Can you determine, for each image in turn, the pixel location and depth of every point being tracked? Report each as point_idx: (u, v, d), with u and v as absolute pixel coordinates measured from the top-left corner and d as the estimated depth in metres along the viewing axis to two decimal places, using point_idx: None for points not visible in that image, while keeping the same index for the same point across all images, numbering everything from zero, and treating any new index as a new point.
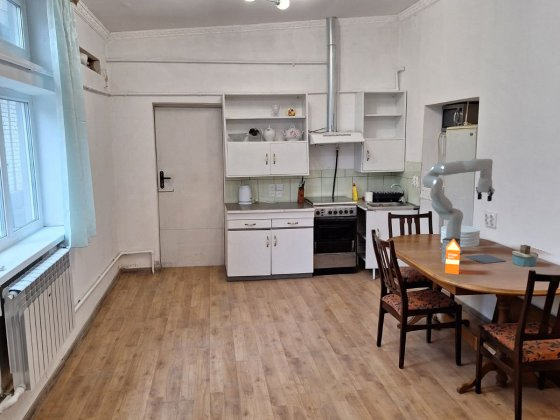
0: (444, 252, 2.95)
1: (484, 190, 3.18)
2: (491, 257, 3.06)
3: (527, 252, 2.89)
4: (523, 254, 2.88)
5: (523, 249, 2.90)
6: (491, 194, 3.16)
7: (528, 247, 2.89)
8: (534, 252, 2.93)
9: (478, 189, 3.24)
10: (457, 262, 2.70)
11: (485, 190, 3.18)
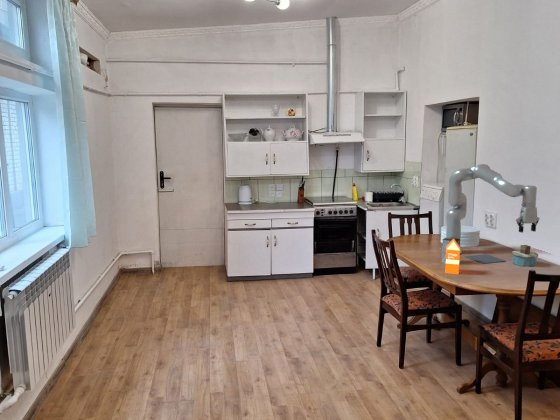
0: (444, 252, 2.95)
1: (534, 220, 2.86)
2: (491, 257, 3.06)
3: (527, 252, 2.89)
4: (523, 254, 2.88)
5: (523, 249, 2.90)
6: (536, 223, 2.89)
7: (528, 247, 2.89)
8: (534, 252, 2.93)
9: (527, 221, 2.84)
10: (457, 262, 2.70)
11: (535, 220, 2.86)
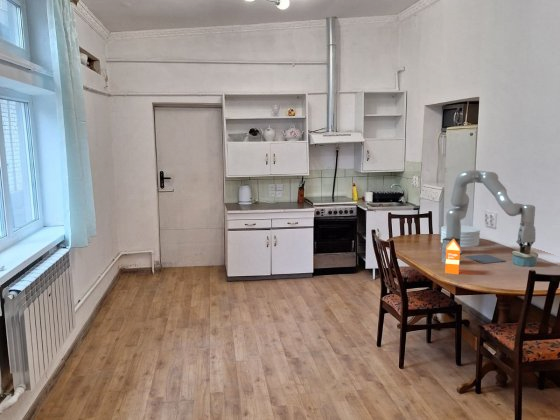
0: (444, 252, 2.95)
1: (532, 239, 2.88)
2: (491, 257, 3.06)
3: (527, 252, 2.89)
4: (523, 254, 2.88)
5: None
6: None
7: (528, 247, 2.89)
8: (534, 252, 2.93)
9: (525, 240, 2.86)
10: (457, 262, 2.70)
11: (533, 239, 2.88)
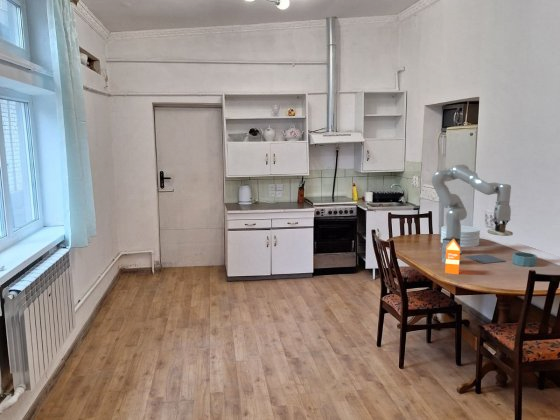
0: (444, 252, 2.95)
1: (507, 218, 2.94)
2: (491, 257, 3.06)
3: (502, 230, 2.95)
4: (498, 232, 2.94)
5: None
6: (506, 223, 2.97)
7: (503, 225, 2.94)
8: (509, 231, 2.99)
9: (500, 218, 2.92)
10: (457, 262, 2.70)
11: (508, 218, 2.94)
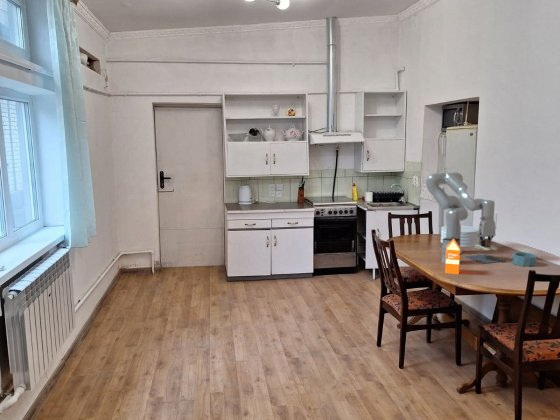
0: (444, 252, 2.95)
1: (492, 233, 2.99)
2: (491, 257, 3.06)
3: (487, 245, 3.00)
4: (484, 247, 3.00)
5: None
6: (491, 238, 3.03)
7: (488, 241, 3.00)
8: (495, 246, 3.04)
9: (485, 234, 2.98)
10: (457, 262, 2.70)
11: (493, 233, 3.00)
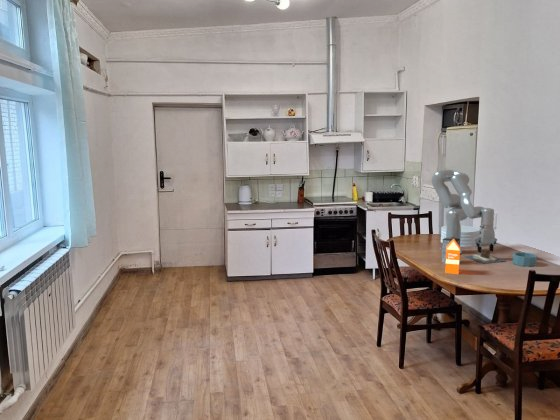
0: (444, 252, 2.95)
1: (492, 241, 3.00)
2: None
3: (487, 256, 3.02)
4: (483, 258, 3.01)
5: (483, 253, 3.02)
6: None
7: (487, 251, 3.01)
8: (494, 256, 3.06)
9: (484, 242, 2.99)
10: (457, 262, 2.70)
11: (493, 241, 3.00)
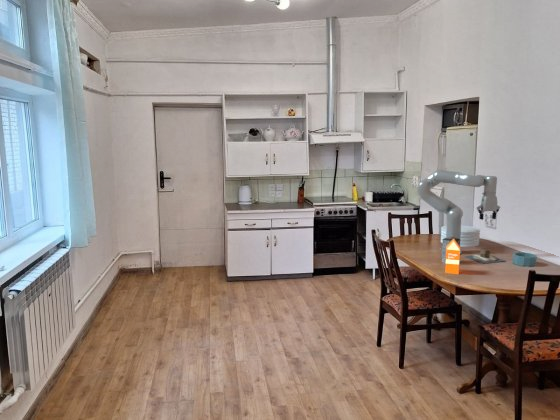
0: (444, 252, 2.95)
1: (494, 208, 3.05)
2: None
3: (487, 256, 3.02)
4: (483, 258, 3.01)
5: (483, 253, 3.02)
6: (497, 211, 3.09)
7: (487, 251, 3.01)
8: (494, 256, 3.06)
9: (486, 209, 3.04)
10: (457, 262, 2.70)
11: (495, 208, 3.06)
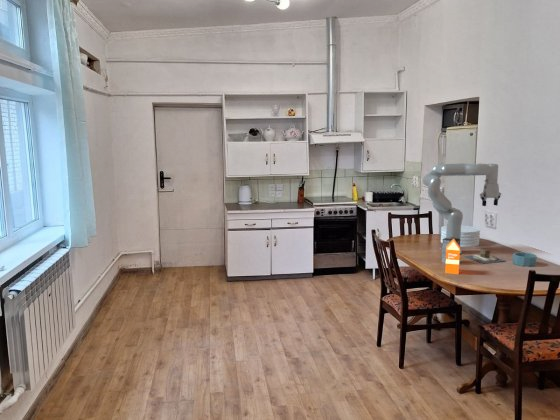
0: (444, 252, 2.95)
1: (496, 195, 3.16)
2: None
3: (487, 256, 3.02)
4: (483, 258, 3.01)
5: (483, 253, 3.02)
6: (498, 198, 3.20)
7: (487, 251, 3.01)
8: (494, 256, 3.06)
9: (489, 195, 3.15)
10: (457, 262, 2.70)
11: (497, 195, 3.17)
